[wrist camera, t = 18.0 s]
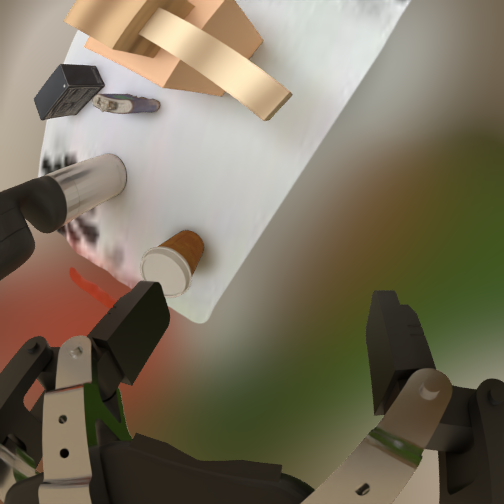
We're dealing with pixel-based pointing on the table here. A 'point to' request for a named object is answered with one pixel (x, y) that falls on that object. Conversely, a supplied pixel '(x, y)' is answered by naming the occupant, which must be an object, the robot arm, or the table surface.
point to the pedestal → (175, 70)
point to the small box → (68, 90)
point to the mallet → (178, 46)
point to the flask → (124, 103)
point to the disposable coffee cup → (173, 263)
